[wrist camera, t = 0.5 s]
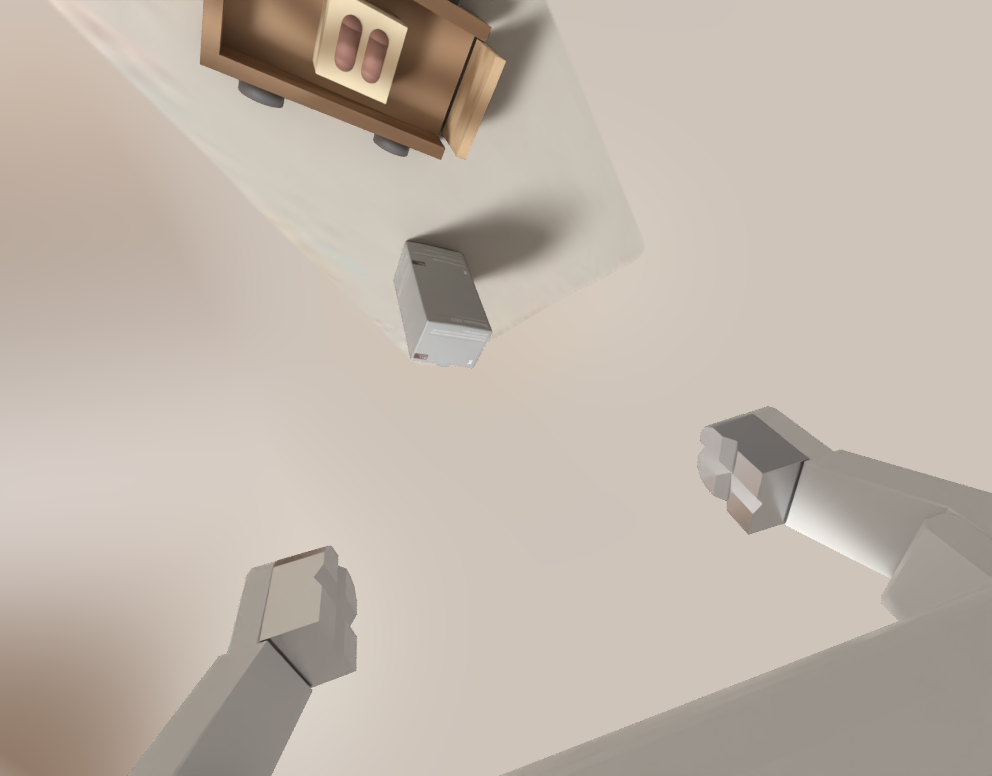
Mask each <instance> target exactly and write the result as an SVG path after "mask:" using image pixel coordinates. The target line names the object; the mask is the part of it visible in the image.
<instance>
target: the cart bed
mask: <svg viewBox="0 0 992 776" xmlns="http://www.w3.org/2000/svg"><path fill="white" fill-rule="evenodd" d="M323 1H324V0H204V4H203V21H202V38H201V55H200V64H201V65H203V66H206V67H209V68H211V69H214V70H216V71H219V72H221V73H224V74H226V75H229V76H231V77H234V78H236V79H239V86H238V89H239V91H240V92H241V93H242V94H244V95H245V96H247V97H248V98H250V99H252V100H254V101H256V102H259V103H261V104H264V105H267V106H270V107H276V108H281V107H283V104H284V98H286V99H289V100H292V101H294V102H297V103H299V104H302V105H304V106H307V107H309V108H312V109H314V110H317V111H319V112H322V113H324V114H327V115H329V116H332V117H334V118H337V119H339V120H342V121H344V122H347V123H349V124H352V125H354V126H357V127H359V128H362V129H364V130H367V131H369V132H372V133H375V135H374V139H373V140H374V142H375V143H376V144H377V145H378V146H379V147H381V148H382V149H384V150H386V151H388V152H390V153H392V154H395V155H398V156H403V157H405V156H407V154H408V151H409V148H412V149H415V150H417V151H420V152H422V153H425V154H427V155H430V156H432V157H435V158H437V159H440V160H441V158H442V156H443V153H444V150H445V147H444V146H443V144H442V142H441V141H440V139H439V137H438V135H439V132H440V129H441V127H442V124H443V121H444V118H445V116H446V113H447V110H448V108H449V105H450V102H451V99H452V97H453V94H454V91H455V88H456V86H457V83H458V80H459V78H460V75H461V72H462V69H463V67H464V64H465V61H466V58H467V56H468V53H469V50H470V48H471V45H472V42H473V39H474V37H477V38H479V39H480V40H482V41H484V42H485V43H486V41H487V38H488V35H489V33H490V30H491V27H490V26H489V25H488V24H486V23H485V22H484V21H483V20H481V19H480V18H479V17H477V16H476V15H474V14H472V13H471V12H469V11H468V10H466V9H464V8H463V7H461V6H459V5H458V3H459V0H369V1H371V2H373V3H374V4H376V5H378V6H380V7H382V8H383V9H385V10H387V11H389V12H391V13H393V14H394V15H396V16H398V17H399V18H400V19H401V20H402V22H403V23H404V24H405V25H406V27H407V28H408V29H407V32H406V36H405V39H404V43H403V46H402V50H401V53H400V56H399V60H398V63H397V67H396V70H395V74H394V77H393V81H392V84H391V88H390V91H389V95H388V98H387V101H386V104H384V103H382V102H380V101H377V100H375V99H373V98H371V97H368V96H366V95H364V94H361V93H359V92H357V91H355V90H352V89H350V88H348V87H346V86H343V85H341V84H339V83H336V82H334V81H332V80H330V79H327V78H325V77H323V76H320V75H318V74H316V72H315V68H314V64H313V60H312V59H313V54H314V48H315V43H316V38H317V32H318V27H319V22H320V17H321V11H322V6H323Z"/></svg>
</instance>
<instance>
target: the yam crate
mask: <svg viewBox="0 0 992 776" xmlns="http://www.w3.org/2000/svg"><path fill="white" fill-rule="evenodd" d="M407 29H408V28H407V27H406V25H405V24H404V23H403V22H402V20H401V19H400V18H399V17H398V16H396V15H394V14H393V13H391V12H389V11H387V10H385V9H383V8H382V7H380V6H378V5H376V4H374V3H373V2H371V1H369V0H324V1H323V6H322V11H321V17H320V22H319V27H318V32H317V38H316V43H315V48H314V54H313V59H312V60H313V64H314V68H315V72H316V74H318V75H320V76H323V77H325V78H327V79H330V80H332V81H334V82H336V83H339V84H341V85H343V86H346V87H348V88H350V89H352V90H355V91H357V92H359V93H361V94H364V95H366V96H368V97H371V98H373V99H375V100H377V101H380V102H382V103H384V104H386V101H387V98H388V95H389V91H390V88H391V84H392V81H393V77H394V74H395V70H396V67H397V63H398V60H399V56H400V53H401V50H402V46H403V43H404V39H405V36H406V32H407Z"/></svg>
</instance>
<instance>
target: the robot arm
mask: <svg viewBox="0 0 992 776" xmlns="http://www.w3.org/2000/svg"><path fill="white" fill-rule="evenodd" d="M700 441H701V442H702V443H703V444H704V445H705V447H704V448H703V450H702V451H701V452H700V454H699V455H698V466H697V467H698V470H699V474H700V477H701V479H702V481H703V482H704V484H705V486H706V487H707V489H708V490H709V491H710V492H711V493H712V494H713V495H714V496H716V497H718V498H721V499H723V500H725V501H727V511H728V512H729V513H730V515H731V516H732V517H733V518H734V519H735V520H736V521H737V522H738V524H740V526H741V527H742V528H743V529H744V530H745V531H746V532H747V533H748V534H752V533H755V532H758V531H761V530H764V529H767V528H771V527H774V526H777V525H780V524H784V523H786V524H785V525H787V526H788V527H790V528H792V529H794V530H796V531H798V532H800V533H802V534H804V535H806V536H808V537H810V538H812V539H814V540H816V541H818V542H820V543H822V544H823V545H825V546H827V547H829V548H831V549H833V550H835V551H837V552H839V553H841V554H843V555H845V556H847V557H849V558H851V559H853V560H855V561H857V562H859V563H861V564H863V565H865V566H867V567H869V568H870V569H872V570H874V571H876V572H878V573H880V574H882V575H884V576H886V577H888V578H890V579H891V580H890V581H889V583H888V585H887V587H886V589H885V590H884V592H883V594H882V597H881V604H882V605H883V606H884V607H885V608H886V609H887V610H888V611H889V612H890V613H891V614H892V615H893V616H895V617H896V619H897V620H899V622H896V623H893V624H891V625H888V626H886V627H883V628H881V629H878V630H875V631H873V632H870V633H868V634H865V635H862V636H860V637H857V638H855V639H852V640H849V641H847V642H844V643H842V644H839V645H837V646H834V647H831V648H829V649H826V650H824V651H821V652H818V653H816V654H813V655H811V656H808V657H805V658H803V659H800V660H798V661H795V662H793V663H790V664H788V665H785V666H782V667H780V668H777V669H774V670H772V671H769V672H767V673H764V674H761V675H759V676H757V677H754V678H751V679H749V680H746V681H743V682H741V683H738V684H736V685H733V686H730V687H728V688H725V689H723V690H720V691H718V692H715V693H713V694H710V695H707V696H705V697H702V698H699V699H697V700H694V701H692V702H689V703H687V704H684V705H681V706H679V707H676V708H674V709H671V710H669V711H666V712H663V713H661V714H658V715H655V716H653V717H650V718H648V719H645V720H643V721H640V722H638V723H635V724H632V725H630V726H627V727H624V728H622V729H619V730H617V731H614V732H611V733H609V734H606V735H604V736H601V737H599V738H596V739H593V740H591V741H588V742H586V743H583V744H581V745H578V746H575V747H573V748H570V749H568V750H565V751H562V752H560V753H557V754H555V755H552V756H549V757H547V758H544V759H542V760H539V761H537V762H534V763H532V764H529V765H526V766H524V767H521V768H519V769H516V770H513V771H511V772H508V773H505V774H503V775H500V776H992V493H989V492H986V491H982V490H978V489H975V488H972V487H968V486H965V485H961V484H958V483H955V482H951V481H947V480H944V479H940V478H937V477H933V476H930V475H927V474H923V473H920V472H916V471H913V470H910V469H906V468H902V467H899V466H896V465H892V464H889V463H885V462H882V461H878V460H875V459H871V458H868V457H865V456H861V455H858V454H854V453H851V452H847V451H844V450H838V451H832V450H831V449H830V448H828V447H827V446H826V445H824V444H823V443H822V442H820V441H819V440H818V439H816V438H815V437H814V436H812V435H811V434H809V433H808V432H807V431H805V430H804V429H803V428H801V427H800V426H798V425H797V424H796V423H794V422H793V421H792V420H791V419H789V418H788V417H786V416H785V415H784V414H782V413H781V412H780V411H778V410H777V409H775V408H772V407H769V406H767V407H764V408H761V409H758V410H755V411H752V412H749V413H746V414H742V415H739V416H736V417H733V418H730V419H727V420H724V421H721V422H717V423H715V424H712V425H708V426H705V427H704V429H703V430H702V431H701V436H700ZM356 615H357V600H356V594H355V588H354V584H353V581H352V579H351V576H350V574H349V573H348V571H347V569H345V568H343V567H340V566H338V554H337V553H336V552H335V550H334V549H333V547H332V546H326V547H322V548H319V549H315V550H312V551H308V552H305V553H301V554H298V555H294V556H291V557H288V558H284V559H281V560H277V561H275V562H271V563H268V564H265V565H262V566H258V567H254V568H252V569H251V570H250V571H249V573H248V574H247V576H246V578H245V582H244V586H243V590H242V594H241V598H240V602H239V606H238V610H237V615H236V619H235V623H234V627H233V631H232V635H231V639H230V643H229V647H228V651H227V654H224V655H221V656H219V657H218V658H217V659H216V660H215V662H214V663H213V665H212V666H211V667H210V668H209V670H208V671H207V672H206V673H205V675H204V676H203V677H202V679H201V680H200V681H199V683H198V684H197V685H196V686H195V688H194V689H193V690H192V692H191V693H190V694H189V696H188V697H187V698H186V699H185V701H184V702H183V703H182V705H181V706H180V707H179V709H178V710H177V711H176V712H175V714H174V715H173V716H172V718H171V719H170V720H169V722H168V723H167V724H166V725H165V727H164V728H163V729H162V731H161V732H160V733H159V735H158V736H157V737H156V738H155V740H154V741H153V742H152V744H151V745H150V746H149V748H148V749H147V750H146V751H145V753H144V754H143V755H142V757H141V758H140V759H139V761H138V762H137V763H136V764H135V766H134V767H133V768H132V770H131V771H130V772H129V774H128V775H127V776H271V775H272V773H273V771H274V769H275V767H276V765H277V762H278V760H279V758H280V756H281V754H282V752H283V750H284V748H285V746H286V744H287V742H288V739H289V738H290V736H291V734H292V731H293V730H294V727H295V725H296V723H297V721H298V719H299V717H300V715H301V713H302V711H303V709H304V707H305V705H306V703H307V701H308V699H309V697H310V695H311V693H312V689H311V688H312V687H315V686H317V685H320V684H323V683H325V682H328V681H331V680H333V679H336V678H339V677H341V676H344V675H347V674H349V673H352V672H354V671H356V647H357V641H356V640H357V636H356V635H355V633H354V632H353V630H352V629H351V627H350V625H351V624H352V622H353V620H354V618H355V617H356Z"/></svg>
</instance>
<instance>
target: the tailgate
mask: <svg viewBox="0 0 992 776" xmlns="http://www.w3.org/2000/svg"><path fill="white" fill-rule="evenodd" d="M505 63H506V61H505V60H504V59H503V58H502V57H501V56H499V55H498V54H497V53H496V52H495V51H494V50H492V49H491V48H490V47H489V46H488V45H487V44H485V42H484V41H482V40H480V39H479V38H478V39H477V40H476V43H475V46H474V48H473V51H472V54H471V56H470V59H469V62H468V65H467V67H466V70H465V73H464V75H463V78H462V81H461V83H460V86H459V89H458V92H457V94H456V97H455V100H454V102H453V105H452V108H451V110H450V113H449V116H448V118H447V121H446V124H445V127H444V129H443V132H442V136H443V137H444V138H445V139H446V141H447V142H448V144H449V145H450V147H451V148H452V150H453V152H454V153H455V155H456V156H457V157H459V158H462V159H464V160H466V157H467V155H468V152H469V150H470V147H471V145H472V143H473V140H474V138H475V135H476V133H477V131H478V128H479V126H480V123H481V121H482V119H483V116H484V114H485V111H486V109H487V106H488V104H489V102H490V99H491V97H492V94H493V92H494V90H495V87H496V85H497V82H498V80H499V77H500V75H501V73H502V70H503V68H504V65H505Z"/></svg>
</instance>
